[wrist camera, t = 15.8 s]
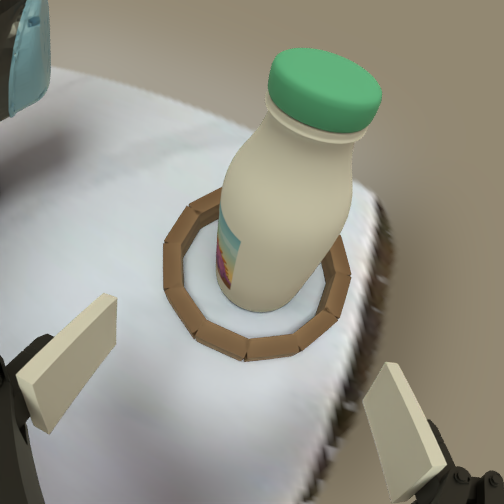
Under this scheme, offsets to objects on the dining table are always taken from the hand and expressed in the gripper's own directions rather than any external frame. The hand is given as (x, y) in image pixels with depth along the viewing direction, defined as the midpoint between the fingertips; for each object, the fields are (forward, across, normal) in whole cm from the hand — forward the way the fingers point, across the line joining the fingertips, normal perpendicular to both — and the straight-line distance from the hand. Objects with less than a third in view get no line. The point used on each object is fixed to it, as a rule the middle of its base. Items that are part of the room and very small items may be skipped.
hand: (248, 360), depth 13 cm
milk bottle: (+15, 0, -1) cm, 15 cm away
